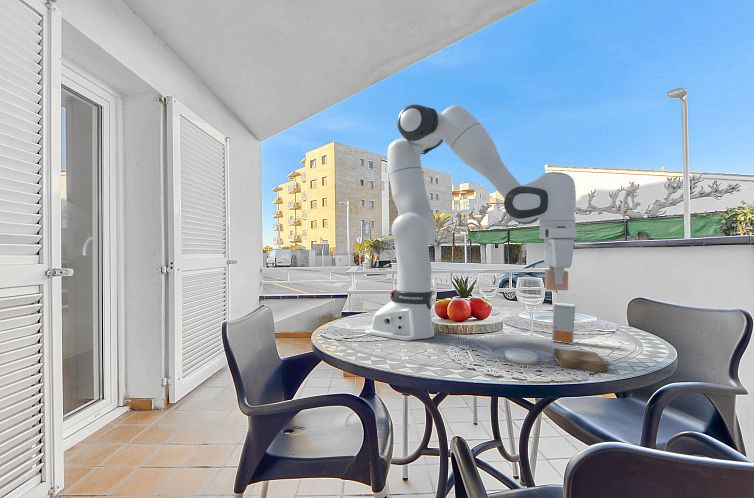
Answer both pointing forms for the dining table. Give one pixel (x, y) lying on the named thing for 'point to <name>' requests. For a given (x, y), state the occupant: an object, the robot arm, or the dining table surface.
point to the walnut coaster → (580, 360)
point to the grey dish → (521, 356)
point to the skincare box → (563, 322)
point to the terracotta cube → (550, 280)
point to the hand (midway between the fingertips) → (556, 283)
